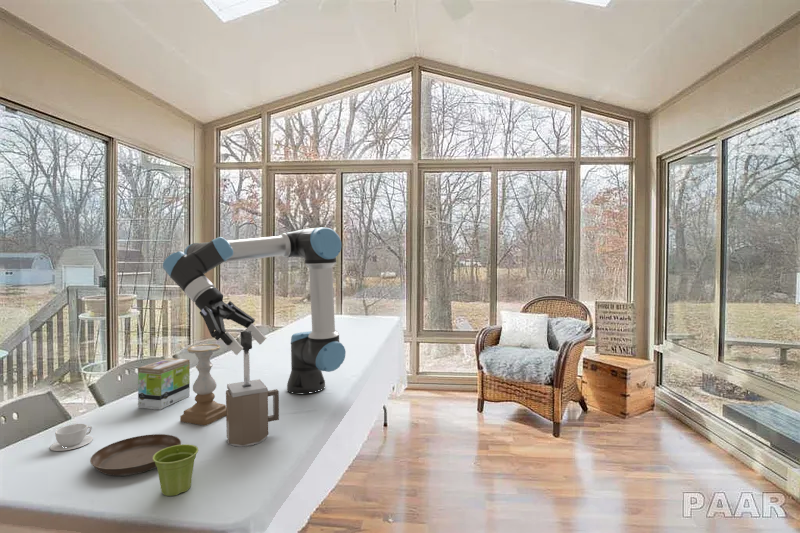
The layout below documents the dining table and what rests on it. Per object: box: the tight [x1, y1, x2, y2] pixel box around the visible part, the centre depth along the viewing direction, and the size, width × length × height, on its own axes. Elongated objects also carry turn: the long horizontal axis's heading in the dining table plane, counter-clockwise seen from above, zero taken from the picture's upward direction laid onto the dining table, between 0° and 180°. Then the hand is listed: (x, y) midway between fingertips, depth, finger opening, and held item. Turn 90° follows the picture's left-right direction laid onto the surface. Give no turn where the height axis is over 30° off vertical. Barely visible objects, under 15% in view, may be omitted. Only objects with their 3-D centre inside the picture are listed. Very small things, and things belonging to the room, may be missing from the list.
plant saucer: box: [89, 433, 182, 477], centre depth 115 cm, size 21×21×3 cm
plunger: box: [239, 330, 253, 396], centre depth 127 cm, size 9×9×22 cm
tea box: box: [137, 357, 191, 411], centre depth 159 cm, size 15×10×15 cm, turn 168°
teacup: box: [49, 423, 94, 452], centre depth 125 cm, size 10×10×5 cm
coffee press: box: [225, 378, 280, 447], centre depth 129 cm, size 15×11×16 cm
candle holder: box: [179, 343, 226, 426], centre depth 144 cm, size 11×11×24 cm
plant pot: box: [153, 443, 199, 497], centre depth 101 cm, size 9×9×9 cm
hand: (252, 346), depth 127 cm, fingers open, 13 cm apart
